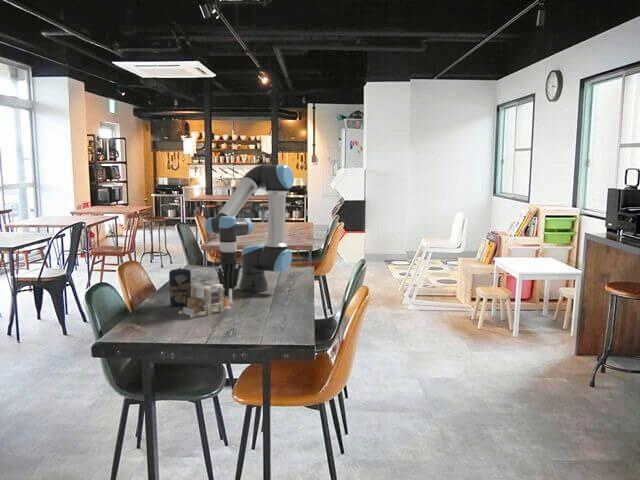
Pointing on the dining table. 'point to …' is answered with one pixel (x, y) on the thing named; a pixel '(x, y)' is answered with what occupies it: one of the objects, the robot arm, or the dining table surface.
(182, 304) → the canister
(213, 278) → the dining table surface
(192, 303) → the block
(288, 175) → the robot arm
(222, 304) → the cream wooden rail frame
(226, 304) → the orange and grey bar
